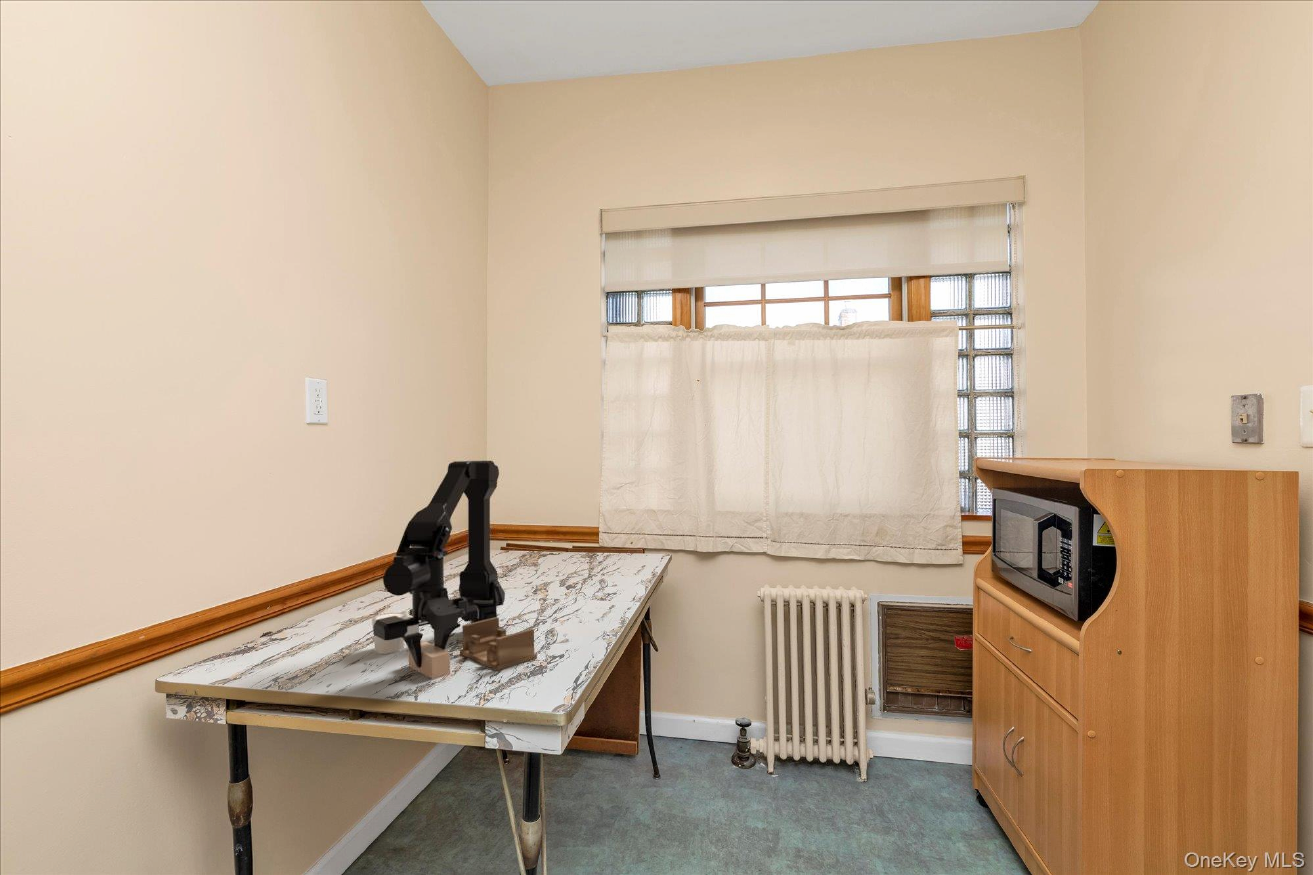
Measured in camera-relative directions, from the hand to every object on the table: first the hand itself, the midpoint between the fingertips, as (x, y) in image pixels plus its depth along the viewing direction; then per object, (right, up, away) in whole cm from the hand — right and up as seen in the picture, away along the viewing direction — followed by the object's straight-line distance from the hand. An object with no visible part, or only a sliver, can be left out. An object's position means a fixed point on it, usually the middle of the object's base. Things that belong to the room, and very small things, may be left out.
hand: (428, 664), depth 115 cm
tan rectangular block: (0, -1, 0) cm, 1 cm away
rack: (+11, -1, +7) cm, 14 cm away
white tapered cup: (-13, -2, +12) cm, 18 cm away
